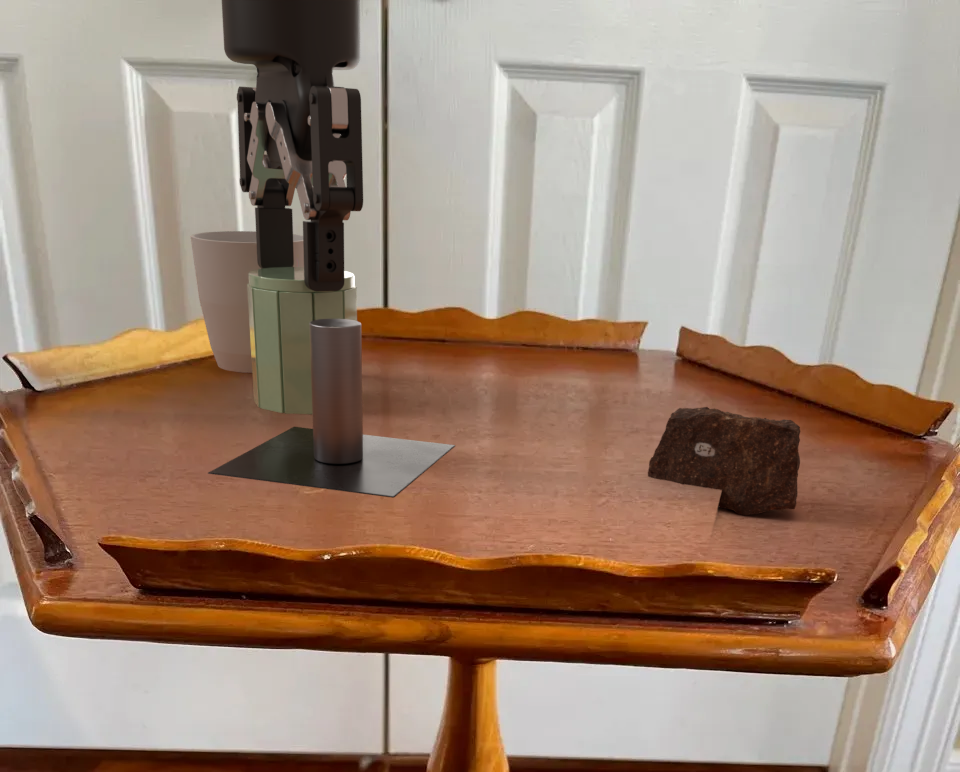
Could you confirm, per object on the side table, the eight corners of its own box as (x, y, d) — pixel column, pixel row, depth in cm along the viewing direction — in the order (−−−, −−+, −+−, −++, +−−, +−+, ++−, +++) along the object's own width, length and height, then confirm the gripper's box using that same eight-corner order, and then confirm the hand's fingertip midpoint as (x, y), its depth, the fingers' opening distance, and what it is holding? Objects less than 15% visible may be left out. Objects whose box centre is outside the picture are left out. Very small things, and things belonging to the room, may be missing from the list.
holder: (208, 495, 52) (195, 329, 48) (294, 446, 61) (288, 302, 57) (393, 520, 50) (393, 347, 46) (455, 465, 58) (459, 316, 55)
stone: (642, 499, 54) (652, 404, 52) (657, 484, 57) (668, 393, 54) (790, 524, 51) (808, 425, 49) (799, 507, 54) (817, 412, 52)
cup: (299, 367, 81) (293, 231, 76) (326, 389, 74) (321, 242, 70) (194, 371, 78) (182, 230, 73) (212, 395, 71) (200, 242, 67)
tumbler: (237, 426, 64) (227, 275, 60) (284, 403, 70) (277, 264, 66) (332, 437, 63) (328, 283, 59) (372, 413, 69) (370, 271, 65)
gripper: (186, -30, 59) (205, 265, 67) (266, -58, 48) (279, 299, 56) (309, -15, 63) (315, 264, 70) (409, -39, 52) (404, 296, 59)
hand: (299, 279), depth 63 cm, fingers open, 8 cm apart
